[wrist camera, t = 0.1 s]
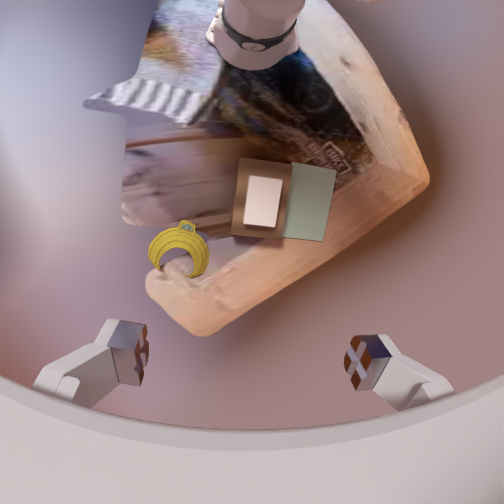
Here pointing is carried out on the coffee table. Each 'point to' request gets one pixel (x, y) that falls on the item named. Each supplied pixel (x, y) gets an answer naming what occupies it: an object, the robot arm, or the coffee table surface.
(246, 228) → the wooden block
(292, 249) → the coffee table surface
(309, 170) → the mat
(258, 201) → the tile
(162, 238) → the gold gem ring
